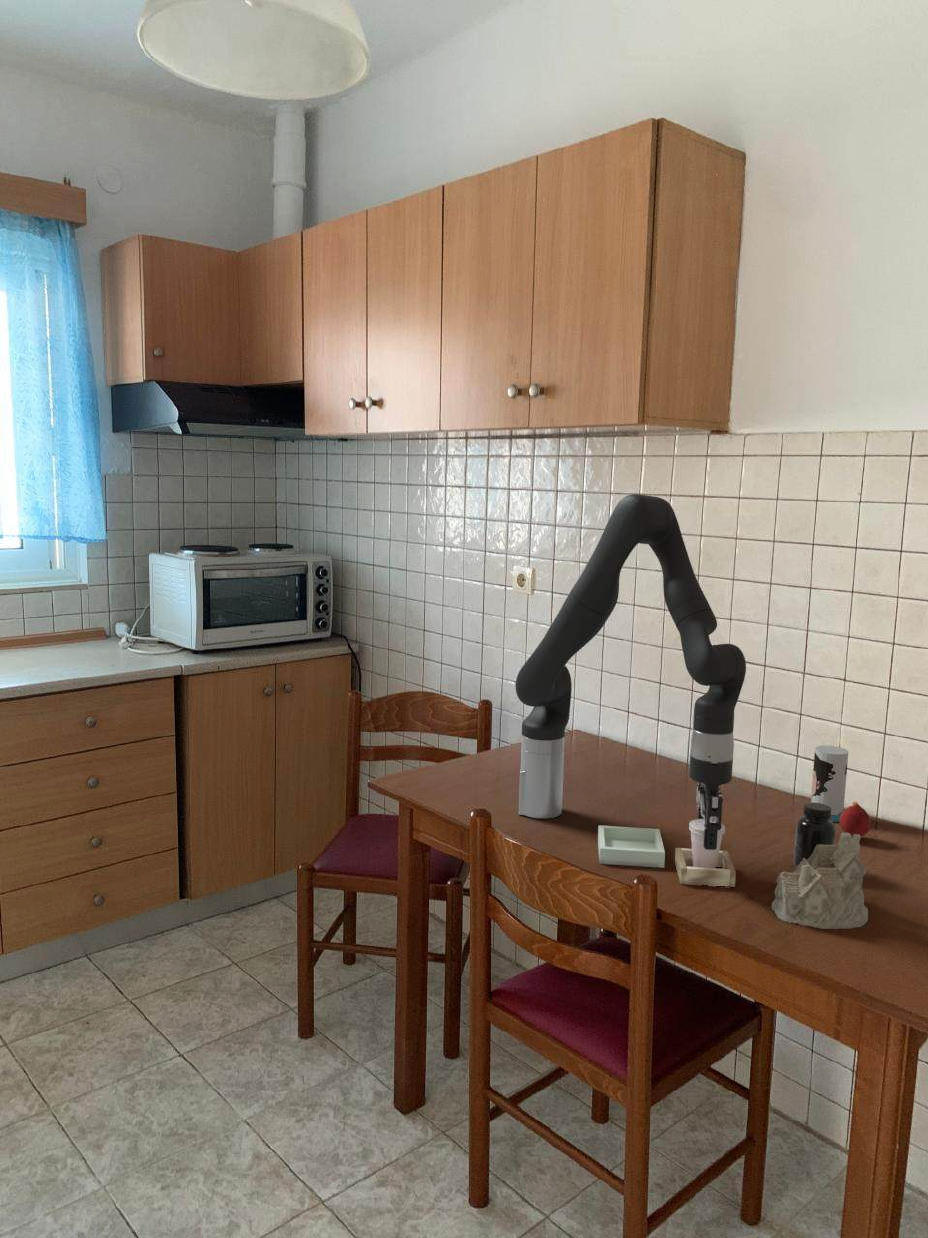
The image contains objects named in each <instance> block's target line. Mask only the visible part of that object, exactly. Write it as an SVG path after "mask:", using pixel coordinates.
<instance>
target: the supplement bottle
mask: <svg viewBox="0 0 928 1238" xmlns="http://www.w3.org/2000/svg"><path fill="white" fill-rule="evenodd" d="M802 815H803V816H801V817H799V819H798V820H797V822H796V827H795V828H796V829H795V841H794V851H793V852H794V853H793V864H794V866H795V867H797V866H798V865H799V864H800V862H801V861H802V860H803V858H805V859H806V860H807V859H808V858H809V857H810V856H811V854H812V853H813V851H814V849H815V847H816V846H817V845H820V844H821V845H835V836H836V826H835V823H834V822H831V821H830V820H829V819H831V807H829V806H827V805H825V804H821V803H813V802H812V803H811V802H806V803H804V805H803V811H802Z"/></svg>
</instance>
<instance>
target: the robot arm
mask: <svg viewBox="0 0 928 1238" xmlns="http://www.w3.org/2000/svg"><path fill="white" fill-rule="evenodd" d="M678 521H679V520H678V518H677V515H676V513H675V511H674V509H673V506H672V505H671V504H670V503H669V501H667V500H666V499H665V498H662V497H659V496H653V495H648V494H647V495H646V494H639V493H633V494H631V493H630V494H629V495H626V496H624V497H623V498H621V500H619V501H618V502H617V504H616V506H615V507H614V509H613V510H612V512H611V514H610V516H609V518H608V520H607V522H606V525H605V528H604V529H603V531H602V534H601V536H600V539H599V541H598V543H597V544H596V547H595V549H594V551H593V553H592V554H591V557H590V558H589V560H588V562H587V564H585V566H584V569H583V571H582V572H581V574H580V576H579V577H578V579H577V581H576V582H575V584H574V585H573V587H572V588H571V590H570V591H569V594H568V595H567V596H566V599H565V600H564V602H563V604H562V606H561V608H560V610H559V611H558V612H557V615H556V616H555V618H554V620H553V621H552V622H551V625H550V626H549V628H548V629H547V631H546V633H545V635H544V636H543V638H542V639H541V641H540V643H538V645H537V647H536V648H535V649H534V651H533V652H532V654H531V655H530V656H529V657H528V659H527V660H526V661H525V663H524V664H523V665H522V666H521V668H520V670H519V671H518V673H517V675H516V678H515V679H516V680H515V693H516V696H517V698H518V700H519V701H520V702H521V703H522V704H524V705H526V706H528V707H533V708H532V710H531V712H530V713H529V714H528V715H527V716H526V717H525V718H524V720H523V721H522V723H521V743H520V744H521V745H520V746H521V747H520V750H521V751H520V770H519V789H518V790H519V791H518V815H521V816H526V817H529V818H533V819H553V818H556V817H558V816H560V815H562V813H563V794H564V793H563V792H564V791H563V788H564V785H563V784H564V764H565V763H564V762H565V760H564V759H565V758H564V757H565V736H566V735H565V734H566V733H565V732H566V727H567V726H568V723H569V720H570V711H571V701H572V700H571V699H572V692H573V691H572V689H573V688H572V678H571V672H570V671H569V669H568V667H567V666H566V665H567V663H569V661H570V660H571V659H572V657H573V656H575V655H576V654H577V653H578V652H579V651H580V650H582V649H583V647H585V646H586V645H587V644H588V643H589V642H591V640H593V639H594V638H595V637H596V635H597V634H599V632H600V631H601V630H602V628H603V627H604V625H606V622H607V621H608V619H609V618H610V616H611V614H612V613H613V611H614V610H615V608H616V605H617V604H618V599H619V593H620V577H621V571H622V568H623V566H624V564H625V563H626V561H627V560H628V558H629V556H630V555H631V553H632V551H633V550H634V549H635V547H636V546H637V545H638V544H641V545H648V546H649V547H650V548H651V550H652V552H653V553H654V554H655V556H656V558H657V559H658V562H659V564H660V567H661V572H662V579H663V581H662V583H663V584H662V587H663V588H662V589H663V597H664V602H665V605H666V608H667V610H668V612H669V615H670V617H671V619H672V621H673V623H674V625H675V626H676V628H677V631H678V632H679V633H678V634H679V637H680V643H681V648H682V654H683V655H682V656H683V659H684V665H685V668H686V671H687V673H688V675H689V676H690V677H691V678H692V680H694V681H695V682H696V683H697V684H698V685H701V686H704V687H705V686H706V687H709V688H708V690H707V692H706V693H704V694H703V695H702V696H700V697H698V698H697V699H695V703H694V706H693V721H692V722H693V723H692V732H691V737H690V751H689V768H688V776H689V778H690V779H691V780H692V781H694V782H696V783H697V784H696V786H697V787H696V796H695V797H696V798H695V803H696V809H697V819H704V845H703V846H704V848H705V849H707V850H715V849H716V848H717V833H718V830H721V828H722V826H721V823H722V818H723V817H722V813H723V812H722V811H723V802H724V799H723V793H722V791H721V789H720V786H721V785H727V784H730V782H731V781H732V779H733V765H734V763H733V762H734V750H735V743H734V742H735V741H734V724H735V709H736V705H737V703H738V700H739V699H740V694H741V692H742V687H743V685H744V683H745V678H746V673H747V662H746V658H745V655H744V653H743V651H742V650H741V648H740V647H738V646H737V645H736V644H733V643H720V644H712V642H711V640H710V635H711V634H713V633H714V632H715V631H716V630H717V627H718V620H717V617H716V615H715V613H714V611H713V609H712V607H711V606H710V604H709V601H708V599H707V597H706V596H705V593H704V591H703V590H702V588H701V586H700V585H701V584H700V583H699V581H698V578H697V577H696V574H695V572H694V569H693V565H692V562H691V560H690V556H689V554H688V550H687V547H686V543H685V541H684V539H683V534H682V531H681V528H680V525H679V522H678ZM710 817H712V818H713V819H714V820H715V823H710Z"/></svg>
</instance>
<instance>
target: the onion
mask: <svg viewBox="0 0 928 1238" xmlns="http://www.w3.org/2000/svg"><path fill="white" fill-rule="evenodd" d="M839 825H840V828H841V830H842V832H843V833H849V834H851V837H852V838H853V835H854V834H859V835H860V836H861V838H862V837H864V836H866V834H868V832H869V831H870V828H871V819H870V816H869V813H868V812H867V811H866V810H865V809H864V807H862V806H861V805H860V804H859V803H858V802H857V801H856V800H855V801H852V805H850V806H848V807H846V808H844V811H843V812H842V814H841V815H840V821H839Z"/></svg>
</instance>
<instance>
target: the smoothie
mask: <svg viewBox="0 0 928 1238" xmlns="http://www.w3.org/2000/svg"><path fill="white" fill-rule="evenodd" d="M688 823H689V824H688V825H689V826H688V829H689V831H690V840H691V849H692V857H693V866H692V867H704V868H716V866H717V860H718V855H719V851H721V844H722V839H723V835H724V834H725V833H726V827H725V825H724V824H723V823H722V822H721V826H722V828H721V830H718V833H717V848H716V849H715V850H707V849H705V848H704V846H703V845H704V819H698V818H696V819H693V820H691V821H689V822H688ZM710 823H715V819H713V817H710Z"/></svg>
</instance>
